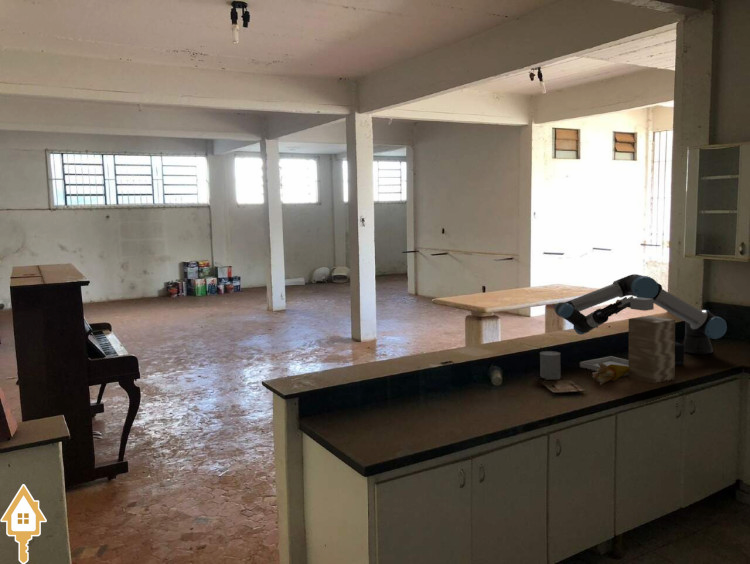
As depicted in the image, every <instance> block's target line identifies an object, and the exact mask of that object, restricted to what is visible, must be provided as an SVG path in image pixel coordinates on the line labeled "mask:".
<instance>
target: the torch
mask: <svg viewBox="0 0 750 564" xmlns="http://www.w3.org/2000/svg"><path fill="white" fill-rule="evenodd" d="M598 364H599V366H600V368H598V369H596V370H597V371H594V372H592V373H591V374H592V378H593V379H595V380H596V382H599V385H603V384H606V383H607V382H608V381H612V382H615V381H616V380H617V379H619V378H621V377H620V376H623V375H625V374H627V373H628V372H629V367H628V366H622V365H613V364H611V365H609V366H606V365H605V364H604V363H602V362H601V363H598ZM623 377H624V376H623Z"/></svg>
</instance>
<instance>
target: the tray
mask: <svg viewBox="0 0 750 564" xmlns="http://www.w3.org/2000/svg"><path fill="white" fill-rule="evenodd" d="M601 362H602V363H604V364H605V365H606V366H609V365H611V364H613V365H622V366H628V367H629V359H625V358H621V357H617V356H612V355H610V356H604V357H600V358H594V359H589V360H584V361H580V362H579V367H580V368H582V369H586V368H587V370H590V369H591V370H590V371H594V370H595V371H594V372H597V370H596V369H598V368H600V366H599V364H598V363H601ZM623 377H629V372H628V373H627V374H625V375H623V376H620V377H619V378H623Z"/></svg>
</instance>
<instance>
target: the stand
mask: <svg viewBox="0 0 750 564" xmlns="http://www.w3.org/2000/svg"><path fill="white" fill-rule="evenodd" d="M675 342H676V319H674V318H667V317H660V316H655V315H654V316H653V315H646V316H640V317H639V316H638V317H633V318H632V317H631V318H628V360H629V375H628V378H631V379H635V380H638V379H639V380H638V381H643V382H646V381H647V382H646V383H650V382H651V383H650V384H653V383H654V384H658V383H657V382H659V383H661V382H662V381H663V382H667V381H671V379H672V380H675V377H676V375H675V373H676V370H675V369H676V367H675V366H676V365H675ZM666 380H667V381H666Z"/></svg>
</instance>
